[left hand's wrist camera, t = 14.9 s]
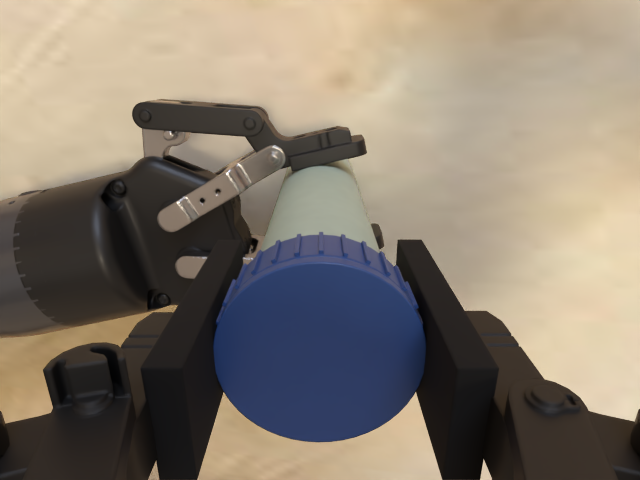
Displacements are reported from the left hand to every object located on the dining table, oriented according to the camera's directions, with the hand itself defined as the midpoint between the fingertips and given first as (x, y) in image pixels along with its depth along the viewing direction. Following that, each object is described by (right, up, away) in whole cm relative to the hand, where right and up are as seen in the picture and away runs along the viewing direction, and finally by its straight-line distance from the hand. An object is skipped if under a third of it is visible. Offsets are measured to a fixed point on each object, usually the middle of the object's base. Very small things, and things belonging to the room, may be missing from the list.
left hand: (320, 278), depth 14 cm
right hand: (+3, +4, +8) cm, 9 cm away
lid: (0, -1, -4) cm, 4 cm away
